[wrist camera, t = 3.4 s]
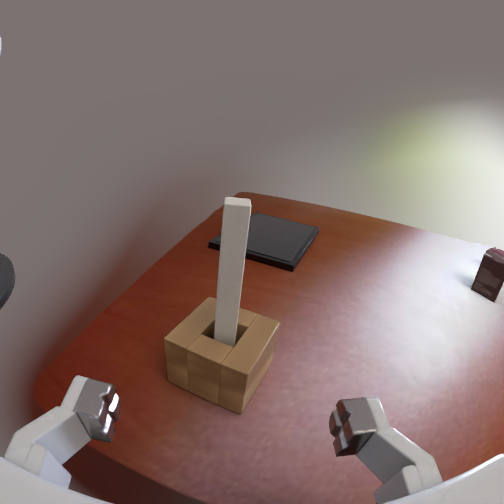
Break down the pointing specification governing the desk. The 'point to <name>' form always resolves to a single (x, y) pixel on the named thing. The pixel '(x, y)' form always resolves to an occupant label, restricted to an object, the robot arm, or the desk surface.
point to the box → (490, 275)
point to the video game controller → (497, 251)
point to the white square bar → (231, 267)
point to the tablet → (275, 241)
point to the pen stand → (220, 356)
